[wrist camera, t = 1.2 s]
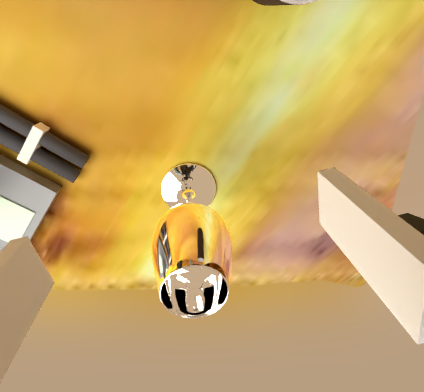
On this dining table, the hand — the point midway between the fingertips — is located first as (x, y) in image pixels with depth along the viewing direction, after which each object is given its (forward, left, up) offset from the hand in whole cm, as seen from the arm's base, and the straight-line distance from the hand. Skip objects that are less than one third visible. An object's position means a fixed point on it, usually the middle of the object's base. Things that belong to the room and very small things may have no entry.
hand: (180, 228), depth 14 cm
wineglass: (+6, -8, -26) cm, 28 cm away
